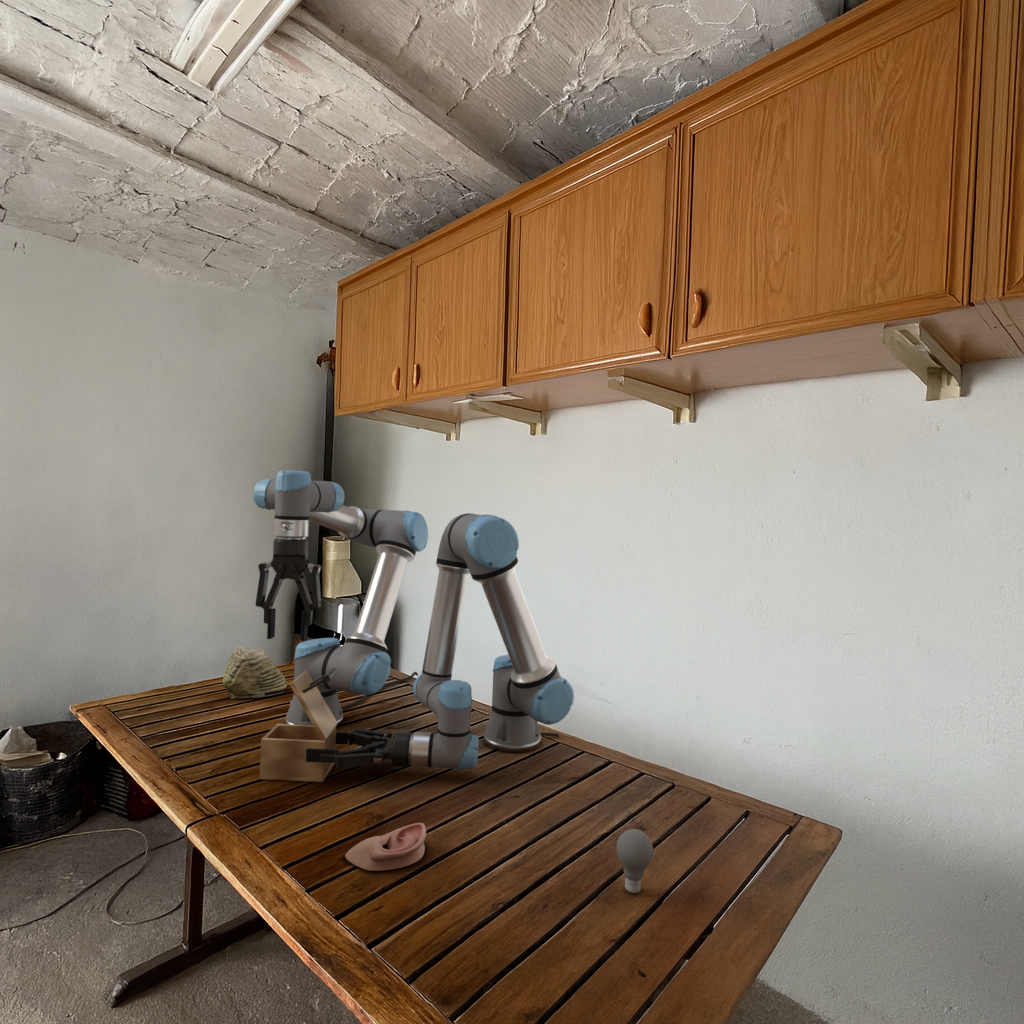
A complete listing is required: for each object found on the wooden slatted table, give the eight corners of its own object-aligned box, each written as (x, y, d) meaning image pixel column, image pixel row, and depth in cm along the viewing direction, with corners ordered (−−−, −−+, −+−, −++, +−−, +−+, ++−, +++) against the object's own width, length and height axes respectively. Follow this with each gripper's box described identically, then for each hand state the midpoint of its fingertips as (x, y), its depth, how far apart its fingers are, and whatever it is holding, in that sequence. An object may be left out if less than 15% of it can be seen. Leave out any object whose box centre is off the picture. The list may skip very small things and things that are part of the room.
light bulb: (610, 879, 108) (613, 822, 108) (644, 879, 109) (647, 822, 109) (619, 902, 102) (622, 840, 102) (655, 901, 103) (658, 840, 103)
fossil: (218, 695, 195) (220, 647, 195) (278, 685, 208) (279, 640, 207) (228, 703, 189) (230, 653, 188) (289, 692, 201) (290, 645, 201)
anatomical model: (337, 842, 109) (366, 811, 120) (336, 865, 109) (365, 832, 120) (410, 854, 106) (432, 821, 117) (409, 878, 106) (432, 842, 118)
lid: (289, 684, 140) (319, 666, 140) (303, 672, 150) (332, 655, 150) (322, 740, 140) (353, 723, 140) (334, 724, 150) (363, 708, 150)
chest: (259, 779, 140) (261, 739, 140) (275, 761, 150) (277, 723, 150) (322, 782, 141) (324, 742, 140) (334, 763, 150) (336, 726, 150)
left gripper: (240, 537, 140) (237, 640, 141) (330, 541, 141) (326, 643, 141) (254, 535, 148) (250, 633, 148) (338, 539, 148) (335, 636, 149)
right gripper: (402, 787, 134) (297, 783, 134) (417, 746, 157) (327, 743, 157) (403, 752, 134) (298, 748, 134) (418, 716, 157) (328, 713, 156)
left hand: (287, 638), depth 145 cm, fingers open, 7 cm apart
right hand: (313, 745), depth 145 cm, fingers closed on chest, 10 cm apart
